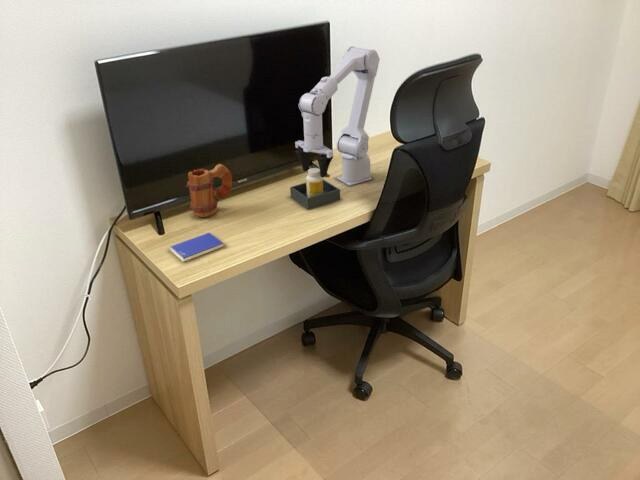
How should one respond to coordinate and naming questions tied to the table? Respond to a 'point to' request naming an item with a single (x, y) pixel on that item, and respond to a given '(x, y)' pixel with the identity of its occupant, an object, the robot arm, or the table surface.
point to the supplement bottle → (314, 183)
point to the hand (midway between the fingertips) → (314, 173)
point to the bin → (327, 197)
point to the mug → (207, 189)
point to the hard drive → (196, 246)
